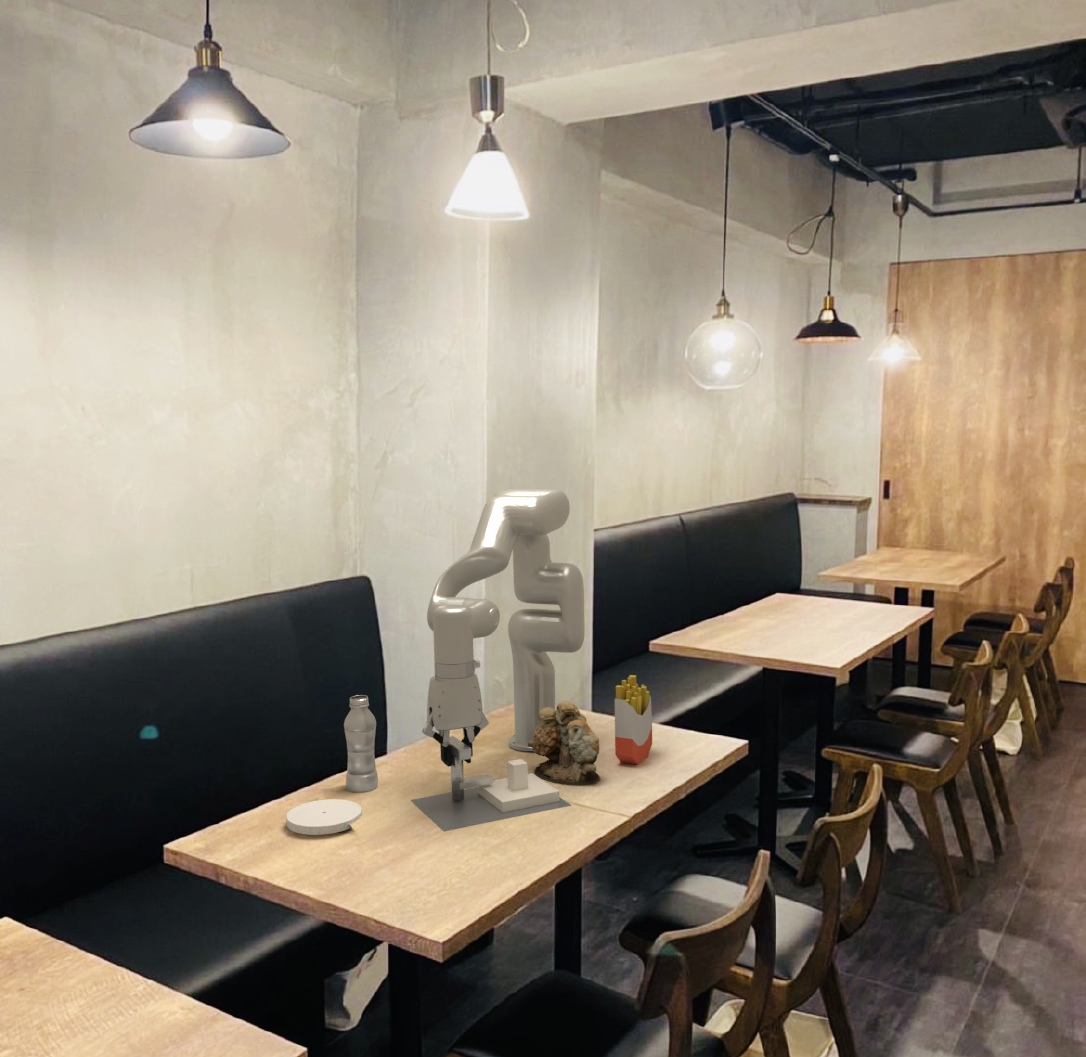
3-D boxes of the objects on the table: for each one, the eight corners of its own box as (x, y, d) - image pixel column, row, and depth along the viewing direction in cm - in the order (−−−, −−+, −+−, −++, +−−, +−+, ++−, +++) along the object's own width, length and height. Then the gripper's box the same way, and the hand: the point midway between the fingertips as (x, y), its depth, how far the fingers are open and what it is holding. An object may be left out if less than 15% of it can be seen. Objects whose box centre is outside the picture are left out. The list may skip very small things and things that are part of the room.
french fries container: (654, 753, 236) (653, 674, 234) (634, 768, 226) (633, 686, 225) (635, 751, 238) (634, 673, 236) (615, 765, 229) (614, 684, 227)
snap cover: (532, 782, 214) (531, 749, 214) (559, 801, 204) (558, 765, 203) (477, 793, 209) (476, 758, 208) (502, 812, 198) (501, 776, 198)
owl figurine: (513, 782, 220) (511, 701, 218) (548, 767, 229) (546, 689, 227) (583, 799, 209) (582, 714, 207) (617, 783, 218) (616, 701, 216)
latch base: (530, 784, 218) (530, 777, 217) (571, 812, 202) (571, 805, 201) (410, 807, 206) (410, 799, 206) (444, 839, 190) (443, 831, 190)
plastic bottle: (339, 797, 213) (335, 699, 211) (360, 786, 219) (356, 691, 216) (365, 801, 210) (361, 703, 208) (385, 791, 216) (381, 695, 213)
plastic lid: (363, 809, 206) (362, 796, 206) (362, 836, 193) (361, 823, 192) (289, 814, 204) (289, 802, 204) (283, 842, 191) (282, 829, 190)
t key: (482, 786, 212) (480, 731, 211) (500, 799, 204) (499, 743, 203) (443, 793, 208) (442, 737, 207) (461, 807, 200) (459, 750, 199)
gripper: (485, 660, 209) (488, 751, 211) (406, 671, 202) (410, 764, 204) (501, 668, 203) (503, 761, 205) (420, 679, 195) (423, 775, 197)
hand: (456, 761), depth 204 cm, fingers open, 3 cm apart
